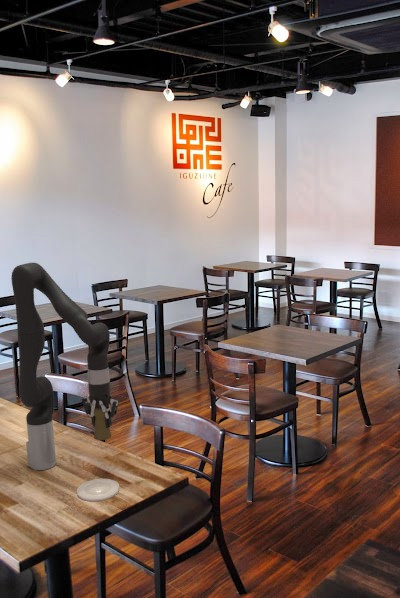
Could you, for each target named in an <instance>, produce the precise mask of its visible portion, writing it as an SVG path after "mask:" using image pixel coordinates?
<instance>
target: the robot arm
mask: <svg viewBox="0 0 400 598" xmlns="http://www.w3.org/2000/svg"><path fill="white" fill-rule="evenodd" d="M10 279H11V286H12V287H11V288H12V291H13V297H14V303H15V314H16V326H17V330H16V331H17V342H18V343H17V344H18V345H17V346H18V360H19V362H18V364H19V372H18V373H19V375H18V377H19V378H18V395H19V398H20V401H21V404H23V405H24V406H25V407H27V408H30V410H29V411H28V412H27V414H26V417H25V421H26V430H27V441H26V442H25V443H26V445H25V446H26V456H27V466H28V467H29V468H31V469H32V470H34V471H45V470H49V469H51V468H54V467H55V466H56V465H57V459H56V445H55V444H56V443H55V434H54V432H55V431H54V422H53V415H54V413H55V402H54V399H55V398H54V387H53V385H52V383H51V381H50V379H49V378H47V377H46V376H37V371H38V366H39V362H40V359H41V357H42V354H43V352H44V349H45V344H46V337H45V326H44V325H45V324H44V322H43V319H42V318H41V316H40V313H39V312H38V310H37V308H36V303H35V294H34V293H35V292H34V291H35V289H36V290H38V291H39V292H41V293H42V294H43V295H44V296H46V298H47V299H48V300H49V301H50V303H51V305H52V307H53V309H54V311H55V313H57V315H58V316H59V317H60V318H61V319H62V320H64V322H66V323H67V324H68V325H69V326H70V327H72V329H73V331H74V332H75V333H76V335H77V336H78V338H79V339H80V341H81V342H82V343H83V344H85V345H87V346H89V347H90V351H88V353H87V382H88V383H87V387H88V394H89V395H88V396H85V397H83V398H82V399H81V402H82V405H83V408H84V412H85V414H86V415H88V416H90V417H91V425H92V427H94V428H95V416H94V410H95V408H101V409H102V410H103V412H104V413H105V416H106V418H105V421H106V428H111V426H112V425H113V424H112V418H114V417H115V416H116V415H117V413H118V408H119V403H120V400H119V399H113V397H112V396H111V378H110V377H111V376H110V371H109V370H110V369H109V359H108V355H109V349H110V348H109V347H110V346H109V345H110V337H111V335H110V333H111V332H110V329H109V327H108V326H107V325H106V324H105V323H103V322H95V323H93V324H92V323H91V322H90V321H89V320H88V318H89V315H88V313H87V312H86V311H85V310H84V309H83V307H81V306H79V304H77V303H76V302H75V301H74V300H73V299H72V298H71V297H69V296H68V294H67V293H65V291H64V290H62V289H63V288H61V287H60V286H59V285H58V283H56V281H55V280H54V279H53V278H52V276H51V275H50V274H49V273H48V272H47V271H46V269H45V268H44V267H43V266H42V265H40V264H39V263H38V262H27V263H23V264H18V265H16V266H15V267H14V268H13V270H12V272H11V278H10ZM106 408H107V409H106Z"/></svg>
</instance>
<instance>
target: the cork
mask: <svg viewBox="0 0 400 598" xmlns="http://www.w3.org/2000/svg"><path fill="white" fill-rule="evenodd" d="M106 409H107V408H106ZM94 416H95V427H94V433H93V439H94V440H97V441H105V440H108V439H110V438H111V437H112V434H111V429H110V428H111V427H109V428H106V421H105V418H106V416H105V413H104V412H103V410H102V409H101V408H95V410H94Z"/></svg>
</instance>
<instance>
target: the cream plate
mask: <svg viewBox="0 0 400 598" xmlns="http://www.w3.org/2000/svg"><path fill="white" fill-rule="evenodd" d="M119 491H120V485H119V483H118V482H117V481H116V480H114V479H111V478H110V479H109V478H95V479H90V480H88V481H85V482H83V483H82V484H80V485H79V486H78V487H77V489H76V494H77V497H78V498H79V499H81V500H82V501H85V502H103V501H107V500H109V499H112V498H113V497H115V496H116V495H117V494H118V493H119Z"/></svg>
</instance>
